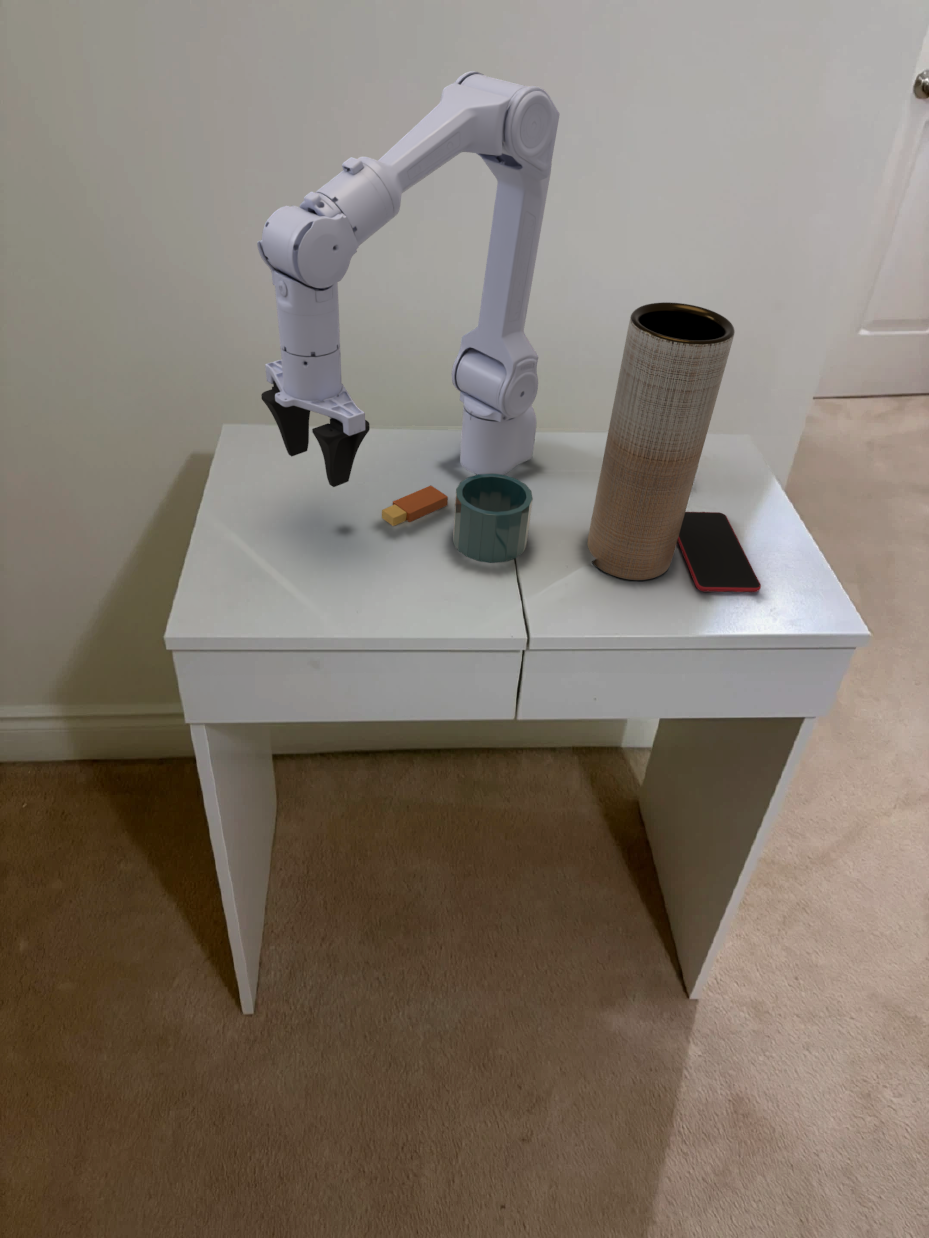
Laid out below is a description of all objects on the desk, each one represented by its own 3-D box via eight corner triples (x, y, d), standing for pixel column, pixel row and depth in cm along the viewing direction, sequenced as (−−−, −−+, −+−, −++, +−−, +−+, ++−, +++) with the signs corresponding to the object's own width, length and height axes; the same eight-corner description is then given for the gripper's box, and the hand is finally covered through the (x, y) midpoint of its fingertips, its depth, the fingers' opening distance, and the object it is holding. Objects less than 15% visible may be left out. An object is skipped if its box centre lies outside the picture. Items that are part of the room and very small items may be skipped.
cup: (489, 519, 102) (495, 465, 98) (540, 552, 98) (548, 497, 93) (437, 544, 98) (440, 489, 93) (488, 580, 93) (493, 524, 89)
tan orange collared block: (430, 501, 105) (430, 485, 103) (447, 513, 103) (448, 496, 101) (379, 524, 100) (378, 507, 99) (396, 536, 99) (396, 519, 97)
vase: (654, 529, 103) (711, 301, 85) (683, 579, 96) (753, 341, 78) (575, 533, 101) (617, 301, 83) (599, 584, 94) (650, 343, 76)
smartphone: (698, 588, 93) (667, 510, 104) (696, 594, 94) (665, 516, 105) (763, 588, 94) (725, 512, 105) (761, 595, 94) (723, 518, 106)
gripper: (233, 329, 83) (248, 451, 92) (319, 383, 75) (326, 510, 84) (294, 313, 87) (303, 432, 96) (382, 363, 79) (382, 487, 88)
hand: (318, 467), depth 90 cm, fingers open, 7 cm apart
